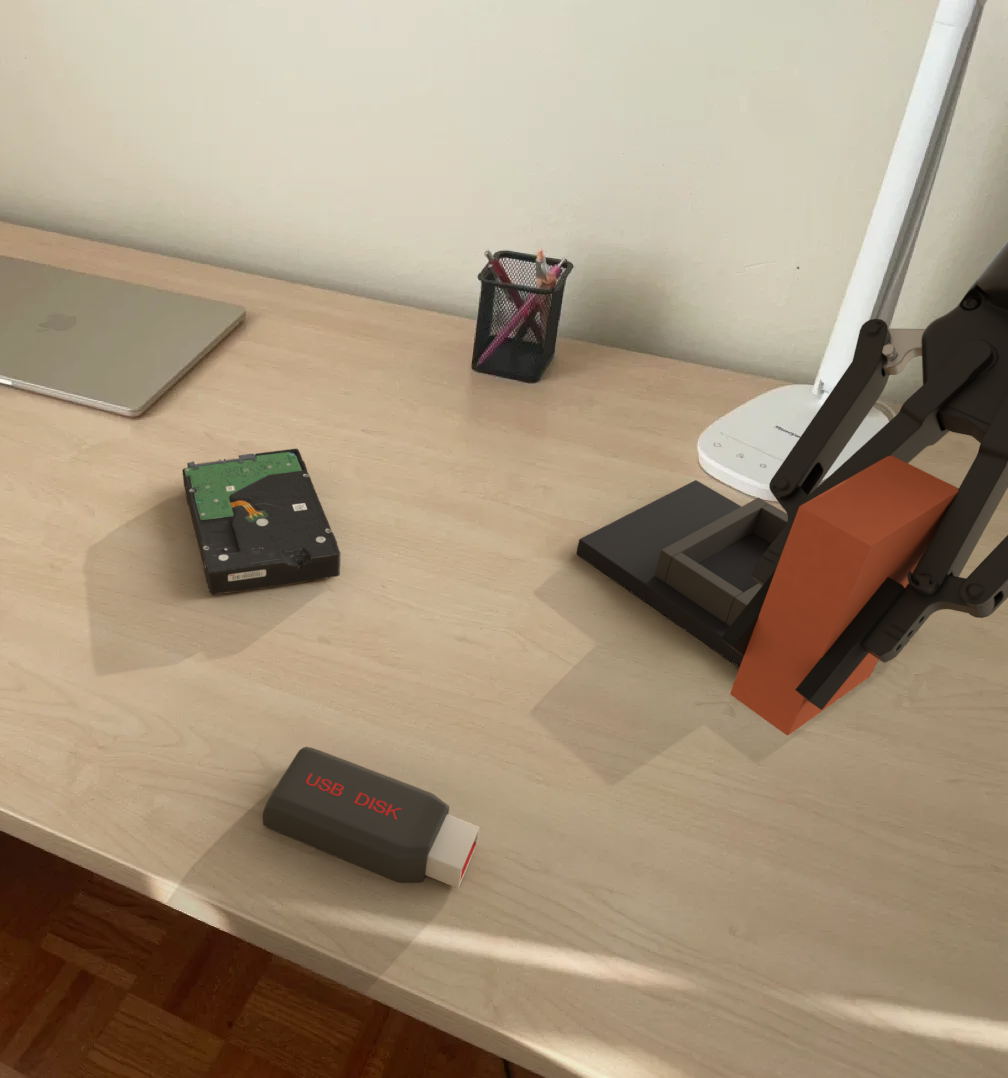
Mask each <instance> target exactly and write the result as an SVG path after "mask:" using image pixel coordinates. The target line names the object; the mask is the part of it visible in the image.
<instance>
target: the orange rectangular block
mask: <svg viewBox="0 0 1008 1078" xmlns="http://www.w3.org/2000/svg"><path fill="white" fill-rule="evenodd" d="M958 489H959V487H957V486H955V485H953V484H951V483H949V482H947V481H945V480H944V479H943V480H942V479H941V478H939V477H936V476H934V475H933V474H931V473H928V472H926V471H924V470H923V469H920V468H919V467H917V466H914V465H912V464H910V463H906V462H904V461H902V460H900V459H898V458H896V457H894V456H892V455H890V456H887V457H885V458H884V459H882V460H880V461H878V462H877V463H875V464H873V465H871V466H870V467H868V468H866V469H864V470H863V471H861V472H859V473H857V474H856V475H854V476H852V477H850V478H849V479H847V480H845V481H843V482H841V483H840V484H838V485H836V486H834V487H833V488H831V489H829V490H827V491H826V492H824V493H822V494H820V495H819V496H817V497H815V498H813V499H812V500H810V501H808V502H806V503H805V504H803V505H801V506H800V507H799V509H798V512H797V514H796V517H795V520H794V522H793V525H792V528H791V530H790V533H789V536H788V539H787V541H786V544H785V547H784V549H783V552H782V555H781V557H780V560H779V563H778V565H777V568H776V571H775V574H774V576H773V579H772V582H771V584H770V587H769V590H768V592H767V595H766V598H765V601H764V603H763V606H762V609H761V611H760V614H759V617H758V619H757V622H756V625H755V627H754V630H753V633H752V636H751V638H750V641H749V644H748V646H747V649H746V652H745V654H744V657H743V660H742V662H741V665H740V668H739V667H738V671H737V673H736V677H735V679H734V681H733V684H732V687H731V690H730V693H729V695H730V696H732V697H733V698H735V700H737V701H738V702H740V703H741V704H742V705H744V706H745V707H747V708H748V709H750V711H752V712H754V713H755V714H756V715H758V717H761V718H762V719H764V721H766V722H767V723H769V724H770V725H772V726H773V727H774V728H776V729H777V730H778V731H780V732H781V733H782V734H784V735H785V736H789V735H791V734H792V733H794V732H795V731H797V730H798V729H800V728H801V727H803V726H804V725H805V724H806V723H808V722H809V721H810V720H812V719H813V718H815V717H816V716H817V715H819V714H820V713H822V712H823V711H824V710H826V709H827V708H829V707H830V706H831V705H833V704H834V703H835V702H837V701H838V700H840V699H841V698H842V697H844V696H846V695H847V694H848V693H849V692H851V691H853V690H854V689H855V688H856V687H858V686H859V685H860V684H862V683H863V682H865V681H866V680H867V679H869V678H870V677H871V676H872V674H873V672H874V670H875V668H876V665H877V663H878V662H879V659H878V658H876V657H875V656H873V655H871V654H870V653H868V654H867V656H866V657H865V658H864V659H863V661H862V662H861V663H860V664H859V665H858V667H857V668H856V669H855V670H854V671H853V673H852V674H851V675H850V676H849V678H848V679H847V680H846V681H845V682H844V684H843V685H842V686H841V687H840V689H839V690H838V691H837V692H836V693H835V695H834V696H833V697H832V698H831V700H830V701H829V702H828V703H827V704H826V706H825V707H824V708H823V709H822V710H821V709H819V708H818V707H817V706H815V705H814V704H812V703H811V702H809V701H808V700H807V699H806V698H804V697H803V696H802V695H801V694H799V693H798V692H797V691H796V690H795V689H796V688H797V687H798V686H799V684H800V683H801V682H802V681H803V680H804V678H805V677H806V676H807V675H808V673H809V672H810V671H811V670H812V668H813V667H814V666H815V665H816V664H817V662H818V661H819V660H820V659H821V657H823V656H824V655H825V653H826V652H827V651H828V650H829V648H830V647H831V646H832V645H833V644H834V642H835V641H836V640H837V639H838V637H839V636H840V635H841V634H842V632H843V631H844V630H845V629H846V628H847V626H848V625H849V624H850V623H851V621H852V620H853V619H854V618H855V617H856V615H857V614H858V613H859V612H860V610H861V609H862V608H863V607H864V605H865V604H866V603H867V602H868V601H869V599H870V598H871V597H872V596H873V594H874V593H875V592H876V591H877V589H878V588H879V587H880V586H881V585H882V583H883V582H884V581H885V580H886V578H887V577H889V578H891V579H893V580H895V581H896V582H898V583H900V584H902V585H903V586H904V588H905V587H906V586H907V585H908V584H909V581H908V577H907V575H908V572H909V571H910V572H912V573H913V571H914V569H915V568H916V566H917V564H918V562H919V560H920V559H921V557H922V555H923V553H924V551H925V549H926V548H927V546H928V544H929V542H930V540H931V538H932V537H933V535H934V533H935V531H936V529H937V527H938V526H939V524H940V522H941V520H942V518H943V517H944V515H945V513H946V511H947V509H948V507H949V506H950V504H951V502H952V500H953V498H954V496H955V495H956V494H957V493H958Z"/></svg>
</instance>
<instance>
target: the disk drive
mask: <svg viewBox="0 0 1008 1078" xmlns="http://www.w3.org/2000/svg"><path fill="white" fill-rule="evenodd" d="M181 470H182V479H183V487H184V492H185V498H186V503H187V505H188V510H189V513H190V516H191V521H192V525H193V529H194V534H195V537H196V541H197V546H198V549H199V554H200V558H201V563H202V566H203V573H204V577H205V581H206V583H207V588H208V592H209V594H210V595H212V596H213V595H218V594H228V593H229V594H231V593H232V594H233V593H239V592H247V591H253V590H259V589H265V588H266V589H268V588H272V587H281V586H286V585H294V584H300V583H301V584H302V583H306V582H315V581H320V580H323V579H330V578H333V577H335V578H336V577H338V576H340V575H341V559H342V558H341V551H340V549H339V545H338V541H337V538H336V536H335V534H334V532H333V531H332V528H331V525H330V523H329V520H328V517H327V515H326V514H325V510H324V508H323V506H322V503H321V501H320V498H319V496H318V493H317V491H316V489H315V486H314V483H313V482H312V478H311V476H310V474H309V472H308V468H307V466H306V463H305V460H303V457H302V454H301V452H300V450H299V448H289V449H282V450H274V451H265V452H257V453H245V454H239V455H238V458H227V459H226V458H223V460H222V459H218V460H212V461H204V462H198V463H195V461H189V462H187V467H184V468H183V469H181Z"/></svg>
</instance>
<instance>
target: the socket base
mask: <svg viewBox="0 0 1008 1078" xmlns="http://www.w3.org/2000/svg"><path fill="white" fill-rule="evenodd" d="M787 521H788V515H787V512H786V511H784V510H782V509H780V508H778V507H776V506H774V505H773V504H771V503H769V502H767V501H766V500H764V499H762V498H760V497H757V498H755V499H753V500H751V501H749V502H747V503H745V504H743V505H740V504H739V503H737V502H735V501H733V500H731V499H730V498H728V497H726V496H724V495H723V494H721V493H719V492H717V491H715V490H714V489H712V488H710V486H707V485H705V484H704V483H702V482H700V481H699V480H697V479H695V480H693V481H691V482H689V483H687V484H684V485H683V486H681V487H679V488H677V489H675V490H673V491H671V492H669V493H667V494H665V495H663V496H662V497H660V498H657V499H656V500H653V501H652V502H649V503H648V504H646V505H644V506H642V507H640V508H638V509H636V510H634V511H632V512H630V513H628V514H626V515H624V516H622V517H621V518H618V519H616V520H615V521H613V522H610V523H608V524H606V525H604V526H602V527H600V528H598V529H597V530H595V531H593V532H591V533H589V534H587V535H584V536H583V537H581V538H579V539H578V543H577V548H576V551H575V552H576V553H575V554H576V555H577V556H578V557H580V558H582V559H583V560H585V561H586V562H588V563H589V564H590V565H591V566H593V567H594V568H596V569H597V570H599V571H600V572H602V573H603V574H605V575H606V576H607V577H609V578H610V579H612V580H613V581H615V582H616V583H617V584H619V585H620V586H622V587H623V588H625V589H626V590H627V591H629V592H630V593H632V594H633V595H635V596H636V597H637V598H639V599H640V600H642V601H643V602H645V603H646V604H648V606H650V607H652V608H654V609H655V610H657V612H659V613H661V614H662V615H663V616H665V617H666V618H668V619H669V620H670V621H672V622H673V623H675V624H676V625H678V626H679V627H681V628H682V629H683V630H684V631H686V632H688V633H689V634H691V635H692V636H694V637H695V638H696V639H698V640H699V641H701V642H702V643H703V644H705V645H706V646H707V647H709V648H710V649H712V650H713V651H715V652H716V653H718V654H720V655H721V656H722V657H724V658H725V659H726V660H728V661H730V662H731V663H732V664H734V665H735V666H736V667H738V669H739V668H740V665H741V662H742V660H743V657H744V656H743V655H741V654H740V653H738V652H737V651H735V650H734V649H733V648H732V647H730V646H729V645H728V644H727V643H725V642H724V641H723V640H722V639H721V637H722V636H723V635H724V633H725V632H726V631H727V630H728V628H729V627H730V626H731V625H732V623H733V622H734V621H735V620H736V618H737V617H738V616H739V615H740V613H741V612H742V611H743V610H744V608H745V607H746V606H747V605H748V603H749V602H750V601H751V600H752V598H753V597H754V596H755V595H756V593H757V592H758V591H759V590H760V588H761V587H762V585H761V584H759V583H758V582H757V581H756V580H755V579H754V578H753V577H752V576H751V575H752V572H753V568H754V565H755V564H756V563H757V561H758V560H759V559H760V557H762V555H763V554H764V552H765V551H766V550H767V549H768V547H769V546H770V545H771V544H772V542H773V541H774V540H775V539H776V537H777V536H778V535H779V533H780V532H781V531H782V530H783V528H784V527H785V526H786V524H787Z"/></svg>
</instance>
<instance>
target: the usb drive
mask: <svg viewBox="0 0 1008 1078" xmlns="http://www.w3.org/2000/svg"><path fill="white" fill-rule="evenodd" d="M265 803H266V804H265V806H264V808H263V811H262V825H263V826H264V827H266V828H267V829H270V830H273V831H275V832H277V833H280V834H282V835H284V836H287V837H289V838H291V839H294V840H296V841H298V842H301V843H304V844H306V845H308V846H311V847H313V848H315V849H317V850H320V851H322V852H325V853H327V854H330V855H332V856H334V857H336V858H339V859H342V860H343V861H346V862H349V863H351V864H354V865H356V866H359V867H360V868H363V869H366V870H368V871H371V872H372V873H375V874H378V875H379V876H383V877H385V878H387V879H390V880H392V881H395V882H397V883H422V882H424V880H425V877H426V876H427V877H429V878H431V879H434V880H437V881H439V882H442V883H443V884H446V885H448V886H450V887H452V888H453V887H454V888H456V889H460V885H461V883H462V881H463V879H464V876H465V874H466V871H467V869H468V867H469V864H470V862H471V859H472V858H473V856H474V853H475V851H476V848H477V846H478V840H479V836H480V830H481V826H478V825H476V824H473V823H471V822H469V821H466V820H463V819H461V818H458V817H455V816H453V815H450V814H449V812H450V805H449V804H448V803H446V802H445V801H443V799H441V798H440V797H438V796H437V795H436V794H435V793H432V792H429V791H427V790H426V789H425V790H424V789H422V788H420V787H416V786H414V785H412V784H409V783H406V782H403V781H402V780H399V779H396V778H393V777H391V776H388V775H385V774H383V773H380V772H377V771H375V770H372V769H370V768H367V767H364V766H362V765H359V764H357V763H354V762H351V761H349V760H346V759H344V758H341V757H338V756H335V755H333V754H330V753H327V752H325V751H322V750H319V749H317V748H313V747H310V746H303V747H302V748H300V749H299V750H298V752H297V754H296V755H295V756H294V758H293V760H291V762H290V764H289V766H288V767H287V769H286V770H285V772H284V773H283V776H282V777H281V778H280V780H279V782H278V783H277V784H276V787H274V790H273V791H272V792H271V794H270V795H269V798H268V799H267V801H266V802H265Z"/></svg>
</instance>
